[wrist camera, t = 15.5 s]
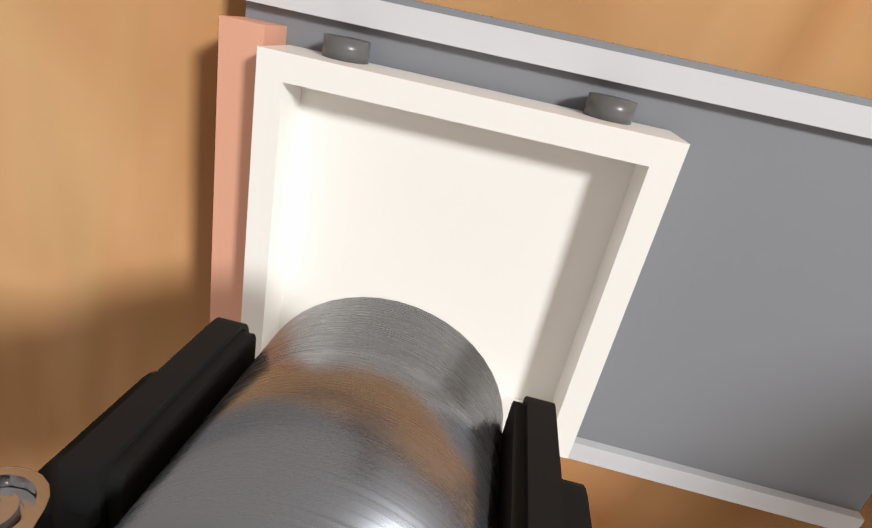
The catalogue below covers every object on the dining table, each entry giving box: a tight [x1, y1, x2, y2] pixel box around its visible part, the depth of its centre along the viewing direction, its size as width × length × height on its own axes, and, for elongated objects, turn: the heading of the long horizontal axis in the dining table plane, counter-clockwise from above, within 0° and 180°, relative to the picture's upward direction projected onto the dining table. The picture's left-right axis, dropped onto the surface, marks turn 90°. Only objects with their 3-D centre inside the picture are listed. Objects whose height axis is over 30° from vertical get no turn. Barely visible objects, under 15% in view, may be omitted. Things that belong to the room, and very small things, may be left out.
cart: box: [241, 33, 690, 459], centre depth 18 cm, size 12×12×2 cm
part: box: [114, 297, 503, 528], centre depth 9 cm, size 5×5×5 cm
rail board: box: [210, 0, 872, 528], centre depth 19 cm, size 25×15×3 cm, turn 79°
